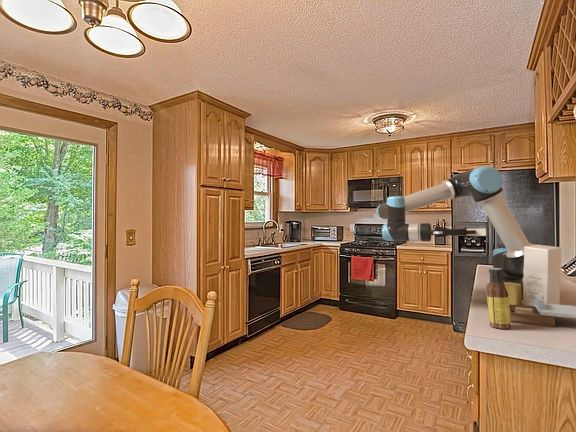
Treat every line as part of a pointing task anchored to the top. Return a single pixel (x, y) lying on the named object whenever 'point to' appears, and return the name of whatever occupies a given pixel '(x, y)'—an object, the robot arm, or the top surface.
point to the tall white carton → (541, 274)
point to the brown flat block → (529, 316)
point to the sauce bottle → (498, 300)
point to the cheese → (512, 293)
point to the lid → (554, 309)
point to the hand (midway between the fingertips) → (485, 232)
